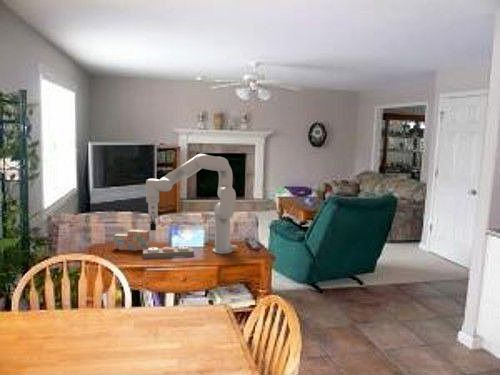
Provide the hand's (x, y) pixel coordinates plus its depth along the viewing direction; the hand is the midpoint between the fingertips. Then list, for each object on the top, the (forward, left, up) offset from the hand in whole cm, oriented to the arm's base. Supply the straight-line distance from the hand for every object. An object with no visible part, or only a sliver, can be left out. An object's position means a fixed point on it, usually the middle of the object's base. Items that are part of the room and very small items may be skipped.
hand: (152, 228), depth 266 cm
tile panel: (-9, 0, -17) cm, 19 cm away
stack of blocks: (+13, -19, -17) cm, 29 cm away
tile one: (0, 0, -15) cm, 15 cm away
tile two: (-18, 0, -15) cm, 23 cm away
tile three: (-9, 0, -15) cm, 17 cm away
